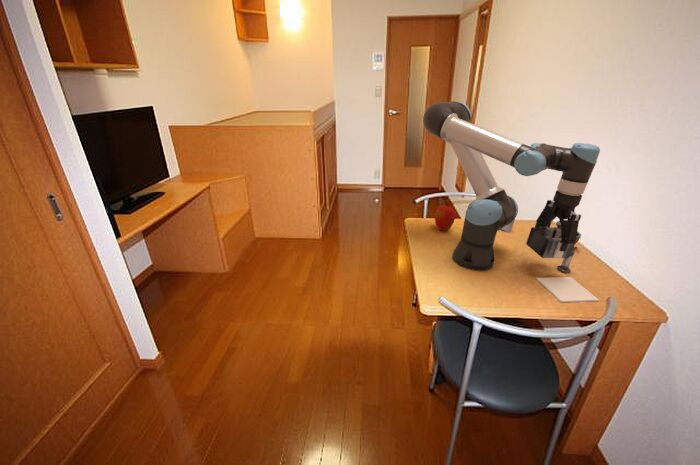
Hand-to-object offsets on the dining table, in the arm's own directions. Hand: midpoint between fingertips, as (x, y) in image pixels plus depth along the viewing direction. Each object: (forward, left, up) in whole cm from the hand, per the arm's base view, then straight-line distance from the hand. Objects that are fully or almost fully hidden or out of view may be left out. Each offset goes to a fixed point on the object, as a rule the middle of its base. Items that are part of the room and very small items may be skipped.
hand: (547, 250), depth 116 cm
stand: (+9, 0, -8) cm, 12 cm away
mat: (+1, -12, -8) cm, 15 cm away
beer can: (+12, +21, -9) cm, 25 cm away
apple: (-25, +36, -9) cm, 44 cm away
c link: (0, 0, 0) cm, 0 cm away
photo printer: (+4, +37, -9) cm, 38 cm away
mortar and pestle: (+21, +18, -9) cm, 29 cm away
